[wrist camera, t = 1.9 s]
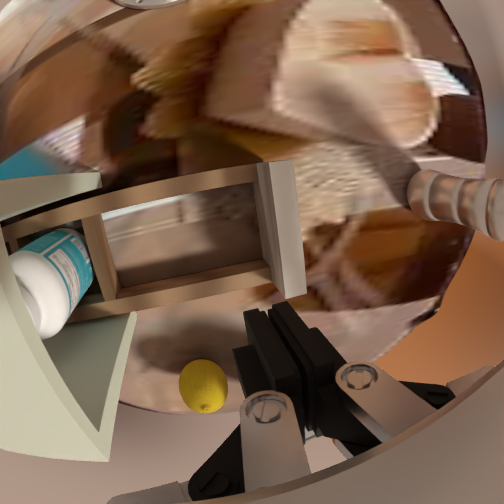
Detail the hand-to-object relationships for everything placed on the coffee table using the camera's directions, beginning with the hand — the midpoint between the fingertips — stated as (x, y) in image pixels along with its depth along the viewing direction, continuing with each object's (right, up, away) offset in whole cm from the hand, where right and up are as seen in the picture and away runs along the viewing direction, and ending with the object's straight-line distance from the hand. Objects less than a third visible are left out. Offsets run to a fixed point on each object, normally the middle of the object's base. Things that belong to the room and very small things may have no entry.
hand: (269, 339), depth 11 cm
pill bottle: (-20, +3, +16) cm, 26 cm away
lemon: (-7, -11, +23) cm, 26 cm away
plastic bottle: (+22, +12, +23) cm, 34 cm away
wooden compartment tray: (-14, +4, +16) cm, 22 cm away
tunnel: (-20, +2, +16) cm, 26 cm away
